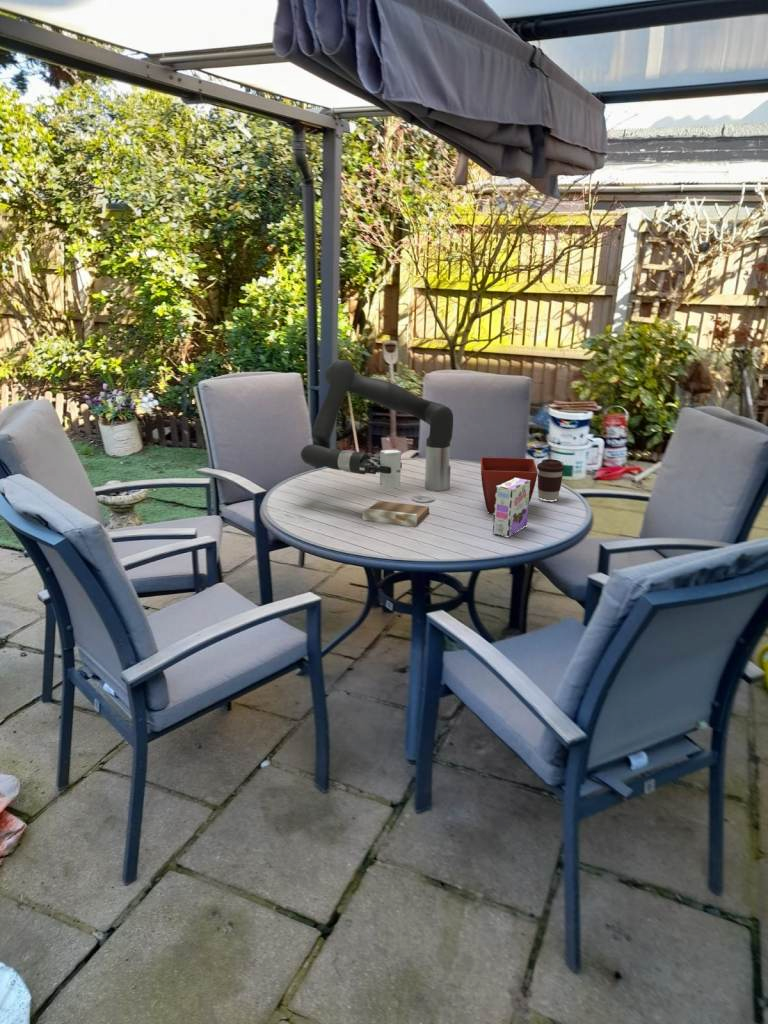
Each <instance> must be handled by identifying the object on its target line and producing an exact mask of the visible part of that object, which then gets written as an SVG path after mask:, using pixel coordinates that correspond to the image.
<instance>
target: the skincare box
mask: <svg viewBox="0 0 768 1024" xmlns="http://www.w3.org/2000/svg"><path fill="white" fill-rule="evenodd" d="M379 454H380V456H379V457H380V466H386V467H391V473H390V474H386V473H379V486H380V487H382V488H383V489H387V488H389V489H390V488H399V487H401V469H402V468H401V463H402V451H400V450H397V449H386V450H380V453H379Z"/></svg>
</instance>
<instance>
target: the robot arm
mask: <svg viewBox="0 0 768 1024" xmlns="http://www.w3.org/2000/svg"><path fill="white" fill-rule="evenodd" d="M324 379H325V381H326V382H327V384H329V387H328V390H327V392H326V393H327V394H326V396H325V399H324V401H323V403H322V405H321V407H320V409H319V411H318V413H317V416H316V418H315V421H314V423H313V424H314V425H313V428H312V430H311V437H312V439H313V442H314V443H313V444H307V445H305V446H304V447H303V448H302V449H301V451H300V458H301V460H302V462H304V463H305V464H307V465H309V466H311V467H312V468H314V469H315V468H316V469H321V468H323V467H327V468H328V469H331V470H337V471H343V472H346V473H351V474H352V473H353V474H358V475H366V474H371V475H377V474H380V473H386V474H390V473H391V467H386V466H380V456H378V457H372V458H371V456H370V455H369V453H367V452H364V451H362V452H361V451H356V450H344V449H343V450H342V449H333V448H331V437H332V434H333V432H334V428H335V426H336V425H335V424H336V422H337V418H338V415H339V412H340V409H341V407H342V404H343V401H344V399H345V396H346V395H347V392H349V393H352V394H354V395H355V394H356V395H357V396H360V397H362V398H364V399H366V400H368V401H370V402H373V403H375V404H377V405H379V406H382V407H384V408H387V409H388V410H391V411H394V412H399V413H403V414H408V415H410V416H414V417H416V418H417V419H420V420H421V421H423V422H424V423H426V424H428V425H429V435H428V437H427V438H426V442H425V445H426V446H425V449H426V450H425V477H424V487H425V489H426V490H428V491H433V492H442V491H447V490H450V488H451V487H450V486H451V465H450V454H451V452H450V451H451V441H452V438H453V432H454V431H453V430H454V414H453V411H452V409H451V408H450V407H449V406H446V405H444V404H442V403H439V402H434V401H432V400H431V401H430V400H427V399H424V398H422V397H419V396H418V395H416V394H414V393H412V392H411V391H409V390H407V388H404V387H402V386H400V385H398V384H396V383H393V382H391V381H388V380H384V379H380V378H375V377H369V376H366V375H362V374H360V373H357V372H356V371H355V366H354V365H353V364H352V362H350V361H349V360H347V359H339V360H336V361H334V362H332V363H331V364H329V365H328V367H326V369H325V370H324ZM402 467H403V463H402V462H401V469H402Z"/></svg>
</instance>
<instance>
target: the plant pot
mask: <svg viewBox="0 0 768 1024" xmlns="http://www.w3.org/2000/svg"><path fill="white" fill-rule="evenodd" d="M536 465H537V464H536V461H535V459H534V458H524V457H523V458H521V457H520V458H517V457H490V456H489V457H488V456H482V457H480V476H481V485H482V492H483V498H484V503H485V506H486V510H487V513H488V512H489V513H488V514H490V513H494V508H495V494H496V486H498V485H500V484H503V483H505V482H507V481H510V480H512V479H514V478H520V479H525V480H530V492H529V504H530V503H531V500H532V496H533V493H534V490H535V487H536V482H537V479H538V473H539V470H538V469H537V466H536Z"/></svg>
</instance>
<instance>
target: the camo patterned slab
mask: <svg viewBox="0 0 768 1024" xmlns="http://www.w3.org/2000/svg"><path fill="white" fill-rule="evenodd" d="M429 514H430V506H426V505H419V504H410V503H402V502H393V501H385V500H384V501H383V500H377V501H376V502H375V503H374V504H372V505H371V506H370V507H363V508H362V520H363V521H367V520H369V521H368V522H375V523H381V524H383V523H384V524H391V525H399V526H405V527H413V526H414V527H417V526H418V525H419V524H420V523H422V522H423V520H424V519H425V518H426V517H427V516H428V515H429Z"/></svg>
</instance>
